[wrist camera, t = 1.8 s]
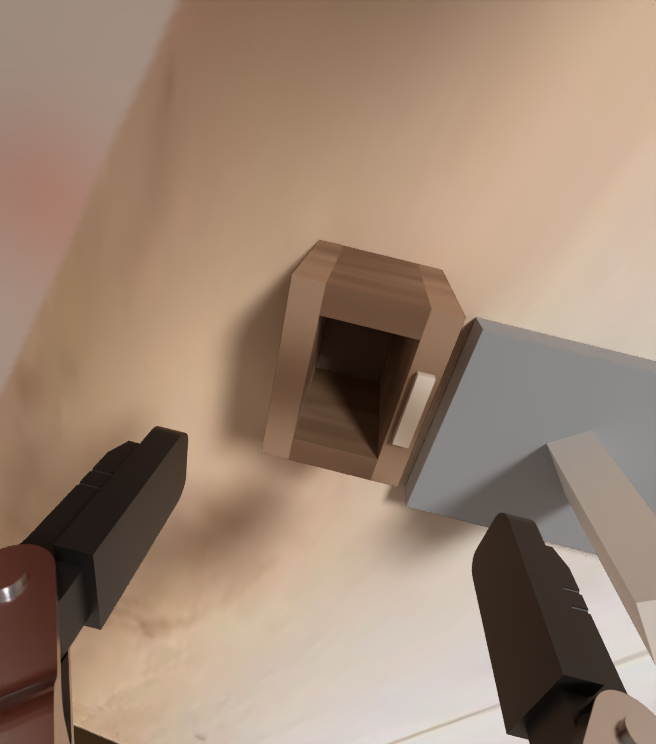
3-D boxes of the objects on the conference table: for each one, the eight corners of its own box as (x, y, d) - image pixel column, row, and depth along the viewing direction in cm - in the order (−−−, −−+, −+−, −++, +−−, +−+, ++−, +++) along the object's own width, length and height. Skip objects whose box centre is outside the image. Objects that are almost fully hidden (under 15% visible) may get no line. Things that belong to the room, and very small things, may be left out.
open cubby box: (319, 239, 18) (289, 276, 12) (442, 270, 18) (467, 320, 12) (292, 380, 21) (259, 457, 16) (394, 405, 21) (397, 492, 16)
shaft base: (476, 317, 19) (548, 447, 10) (773, 390, 19) (1090, 582, 10) (404, 487, 24) (415, 663, 16) (635, 545, 24) (770, 753, 16)
